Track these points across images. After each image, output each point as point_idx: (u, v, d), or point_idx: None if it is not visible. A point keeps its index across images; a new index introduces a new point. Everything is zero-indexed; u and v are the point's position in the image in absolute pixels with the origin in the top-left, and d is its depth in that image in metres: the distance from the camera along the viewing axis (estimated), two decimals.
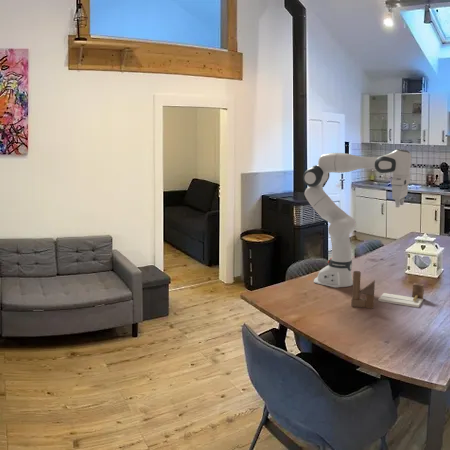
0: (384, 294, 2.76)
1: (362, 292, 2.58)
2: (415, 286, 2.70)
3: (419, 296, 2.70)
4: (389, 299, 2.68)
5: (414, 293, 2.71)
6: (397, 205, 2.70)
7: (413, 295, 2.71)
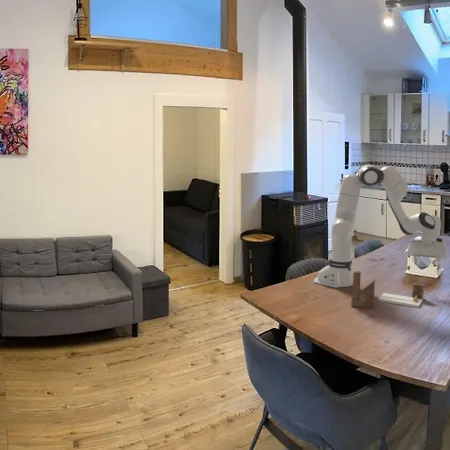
0: (384, 294, 2.76)
1: (362, 292, 2.58)
2: (415, 286, 2.70)
3: (419, 296, 2.70)
4: (389, 299, 2.68)
5: (414, 293, 2.71)
6: (435, 262, 2.76)
7: (413, 295, 2.71)
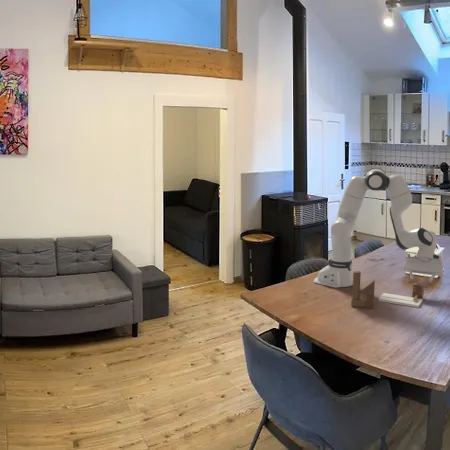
0: (384, 294, 2.76)
1: (362, 292, 2.58)
2: (415, 286, 2.70)
3: (419, 296, 2.70)
4: (389, 299, 2.68)
5: (414, 293, 2.71)
6: (431, 279, 2.72)
7: (413, 295, 2.71)
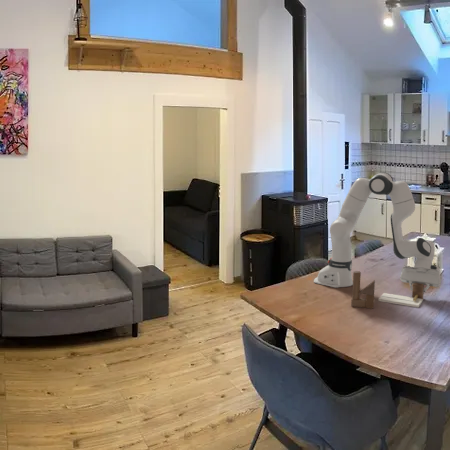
0: (384, 294, 2.76)
1: (362, 292, 2.58)
2: (415, 286, 2.70)
3: (419, 296, 2.70)
4: (389, 299, 2.68)
5: (414, 293, 2.71)
6: None
7: (413, 295, 2.71)
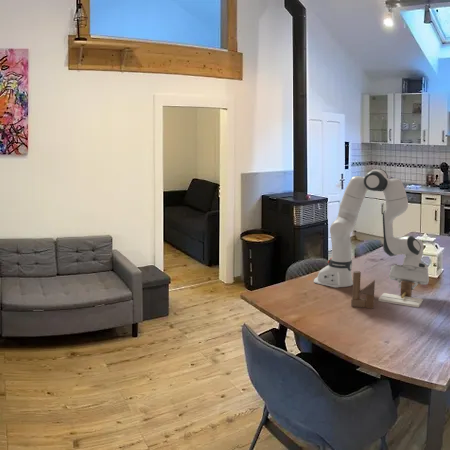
0: (384, 294, 2.76)
1: (362, 292, 2.58)
2: (403, 284, 2.73)
3: (407, 293, 2.73)
4: (389, 299, 2.68)
5: (402, 291, 2.74)
6: (414, 287, 2.72)
7: (401, 292, 2.74)
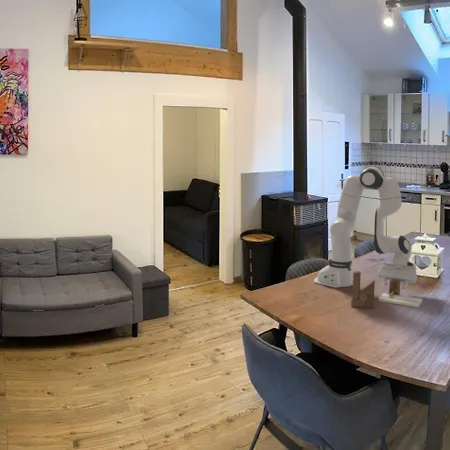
0: (384, 294, 2.76)
1: (362, 292, 2.58)
2: (392, 283, 2.76)
3: (395, 292, 2.76)
4: (389, 299, 2.68)
5: (391, 289, 2.77)
6: (405, 286, 2.74)
7: (390, 291, 2.77)
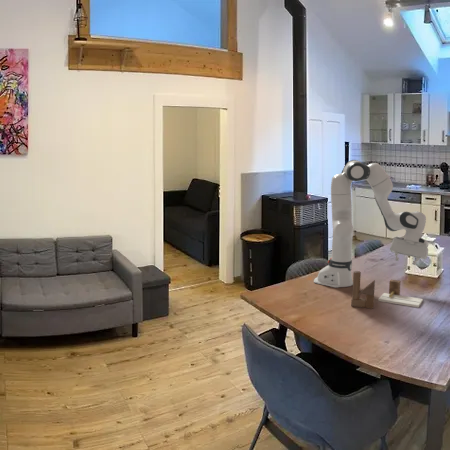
0: (384, 294, 2.76)
1: (362, 292, 2.58)
2: (392, 283, 2.76)
3: (395, 292, 2.76)
4: (389, 299, 2.68)
5: (391, 289, 2.77)
6: (415, 263, 2.83)
7: (390, 291, 2.77)
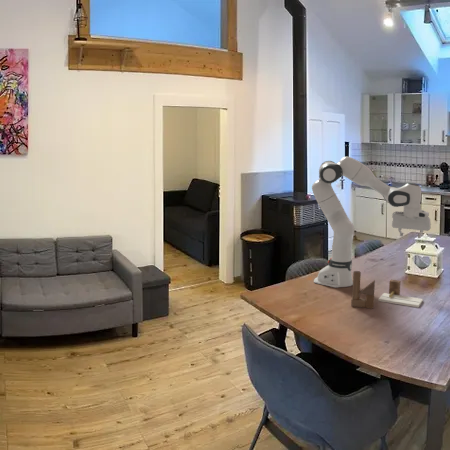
0: (384, 294, 2.76)
1: (362, 292, 2.58)
2: (392, 283, 2.76)
3: (395, 292, 2.76)
4: (389, 299, 2.68)
5: (391, 289, 2.77)
6: (420, 236, 2.83)
7: (390, 291, 2.77)
